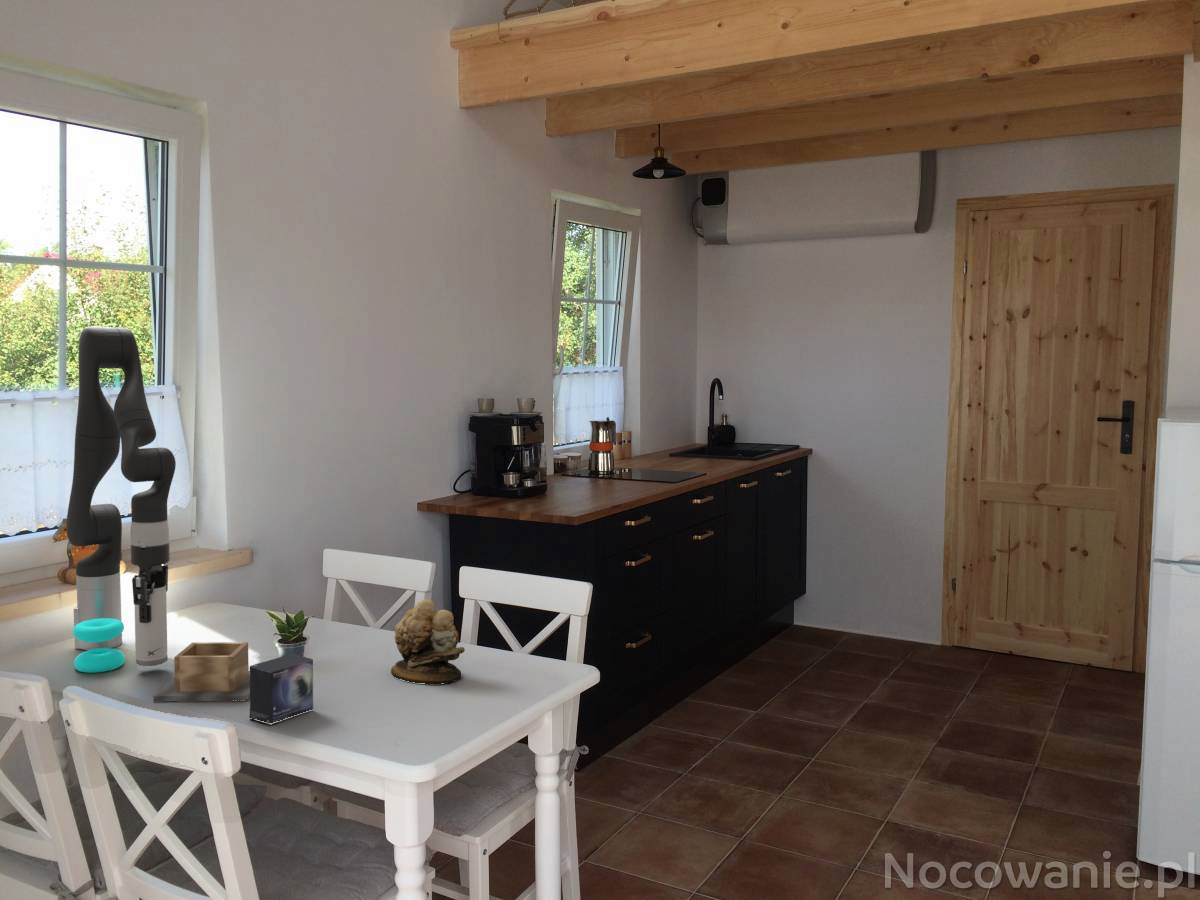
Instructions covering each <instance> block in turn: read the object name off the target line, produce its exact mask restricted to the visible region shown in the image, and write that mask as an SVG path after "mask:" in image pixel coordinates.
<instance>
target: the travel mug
mask: <svg viewBox="0 0 1200 900" xmlns="http://www.w3.org/2000/svg"><path fill="white" fill-rule="evenodd" d="M133 576H134V577H139V576H138V574H135V575H133ZM165 581H166V571H162V572H158V573H157V574H156V575H151V584H150V585H149V586H148V584H147V590H150V589H151V586H152V584H153V583H154V582H155V588H154V589H155V594H154V595H152V600H151V622H149V623H140V621H139V606H138V605H134V636H135V643H134V644H135V664H136V665H138V666H141V667H153V666H155V667H156V666H159V665H162V664H165V663H166V662H167V661H168V660H169V659H168V619H167V618H168V616H167V614H168V613H167V612H168V611H167V610H168V609H167V608H168V607H167V606H168V605H167V592H166V582H165ZM147 597H148V594H147ZM142 599H143V595H142Z"/></svg>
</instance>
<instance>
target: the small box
mask: <svg viewBox="0 0 1200 900" xmlns="http://www.w3.org/2000/svg"><path fill="white" fill-rule="evenodd" d="M249 671H250V698H249V716H248V717H249V718H252V719H257V720H260V721H264V722H267V723H273V722H276V721H280V720H283V719H285V718H288V717H291V716H294V715H297V714H300V713H303V712H306V711H309V710H312V709H313V710H314V659H313V658H311V657H310V658H309V657H305V656H302V655H299V654H294V653H289V654H287V655H283V656H278V657H275V658H273V659H269V660H266V661H262V662H259V663H255V664H253V665H252V664H251V665H249ZM249 718H248V719H249Z"/></svg>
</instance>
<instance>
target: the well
mask: <svg viewBox="0 0 1200 900" xmlns="http://www.w3.org/2000/svg"><path fill="white" fill-rule="evenodd" d="M173 658H174V663H173V664H174V678H172V679H171V680H170V681H169V682H168V683H166V685H164V686H163V687H162V688H161V689H160V690H158V692H157V691H156V693H155V694H154V695H153V696H152V697H153V698H152V699H153V701H202V702H203V701H228V702H241V701H240V700H247V699H248V698H249V697H250V665H249V642H247V641H246V642H241V641H239V642H238V641H237V642H234V641H233V642H224V641H223V642H217V641H216V642H209V641H208V642H191V643H190V644H189V645H188V646H186V647H185V648H184V649H182V650H181V651H180V652H178V653H177V654H176V655H175V656H174V657H173ZM249 699H250V698H249ZM249 699H248V700H249ZM233 700H234V701H233ZM235 700H237V701H235ZM238 700H239V701H238ZM248 700H247V701H248ZM153 701H152V702H153Z"/></svg>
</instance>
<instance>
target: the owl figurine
mask: <svg viewBox="0 0 1200 900" xmlns="http://www.w3.org/2000/svg"><path fill="white" fill-rule="evenodd" d="M459 641H460V640H459V632H458V630H456V626H455V625H454V615H453V612H451V611H449V610H446V609H440V610H437V611H436V605H435V603H434V602H433V601H432V600H431V599H428V598H426V599H422V600H420V601H419V602H417V604H416V605H415V606H414V607H413V608H409V610H407V611H406V612H405V613H404V615H403V617H401V620H400V621H398V623H396V625H395V627H394V642H395V644H396V647H397V650H398V652H399V653H400V655H401V658H402V660H398V661H397V662H395V665H393V666H392V667H391V669H390V675H391V674H392V675H393V676H394V677H396V678H398V679H402V680H405V681H409V682H415V683H425V684H441V683H446V684H448V683H447V682H452V681H454V680H455V681H457V680H460V679H461V678H462V677H461V675H462V672H461V670H460V669H459V668H458V667H457V666H456V665H455V664H453V663H451V662H449V661H456V660H457V659H459V658H460V654H463V653H464V652H465V647H463V646H461V647H458V646H457V645H458V644H459ZM392 675H391V676H392ZM393 676H392V677H393ZM394 677H393V678H394ZM460 677H461V678H460ZM396 678H395V679H396ZM459 678H460V679H459ZM398 679H397V680H398ZM405 681H404V682H405ZM455 681H454V682H455ZM409 682H408V683H409ZM452 683H453V682H452Z"/></svg>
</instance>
